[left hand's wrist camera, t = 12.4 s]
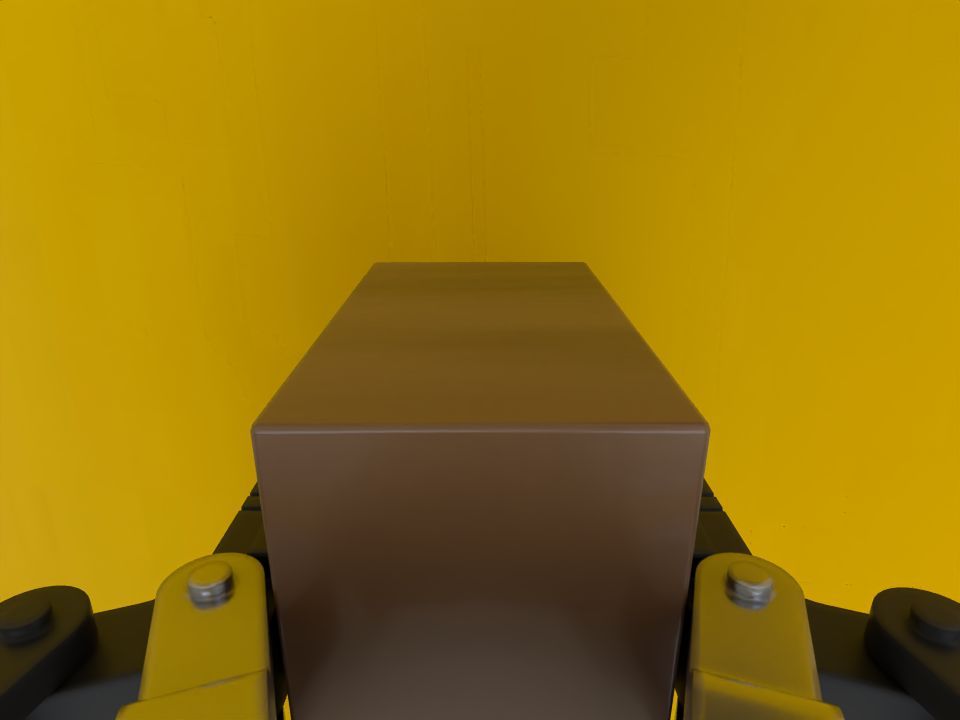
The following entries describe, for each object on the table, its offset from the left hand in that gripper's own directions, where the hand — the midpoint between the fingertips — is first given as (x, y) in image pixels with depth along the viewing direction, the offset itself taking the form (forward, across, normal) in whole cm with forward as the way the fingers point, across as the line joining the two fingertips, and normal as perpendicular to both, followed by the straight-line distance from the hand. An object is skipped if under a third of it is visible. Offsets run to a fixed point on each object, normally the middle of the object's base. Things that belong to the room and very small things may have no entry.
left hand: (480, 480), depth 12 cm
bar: (+4, 0, +10) cm, 11 cm away
